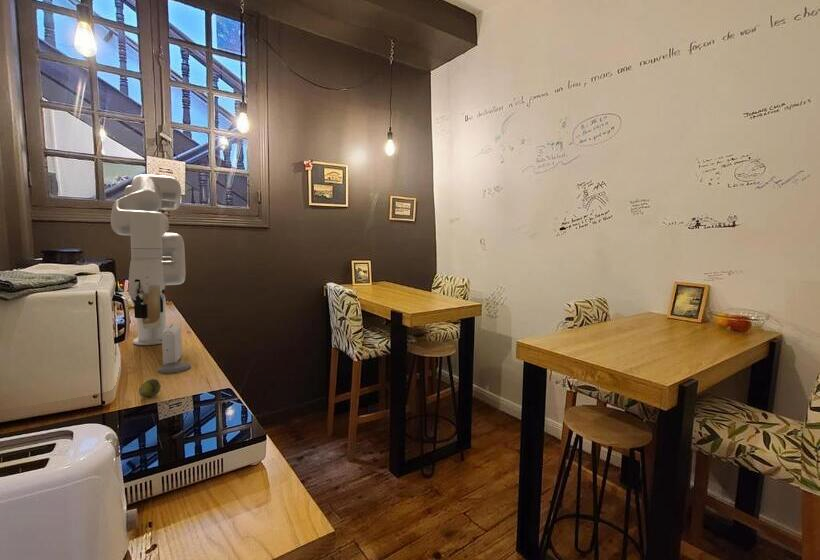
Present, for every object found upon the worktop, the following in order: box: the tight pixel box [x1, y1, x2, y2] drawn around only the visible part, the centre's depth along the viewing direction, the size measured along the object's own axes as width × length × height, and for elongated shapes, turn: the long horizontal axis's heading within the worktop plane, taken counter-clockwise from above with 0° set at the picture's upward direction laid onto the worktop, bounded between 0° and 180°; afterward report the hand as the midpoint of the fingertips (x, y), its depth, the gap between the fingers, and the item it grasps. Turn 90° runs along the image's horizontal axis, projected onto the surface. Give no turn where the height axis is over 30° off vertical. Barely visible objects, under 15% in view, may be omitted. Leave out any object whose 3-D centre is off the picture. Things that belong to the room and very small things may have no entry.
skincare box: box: [141, 285, 161, 329], centre depth 117 cm, size 6×4×12 cm
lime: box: [138, 378, 161, 399], centre depth 107 cm, size 4×5×5 cm
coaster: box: [157, 361, 192, 375], centre depth 128 cm, size 9×9×1 cm
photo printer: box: [161, 323, 183, 365], centre depth 136 cm, size 10×4×12 cm, turn 17°
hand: (149, 314), depth 117 cm, fingers closed on skincare box, 7 cm apart
